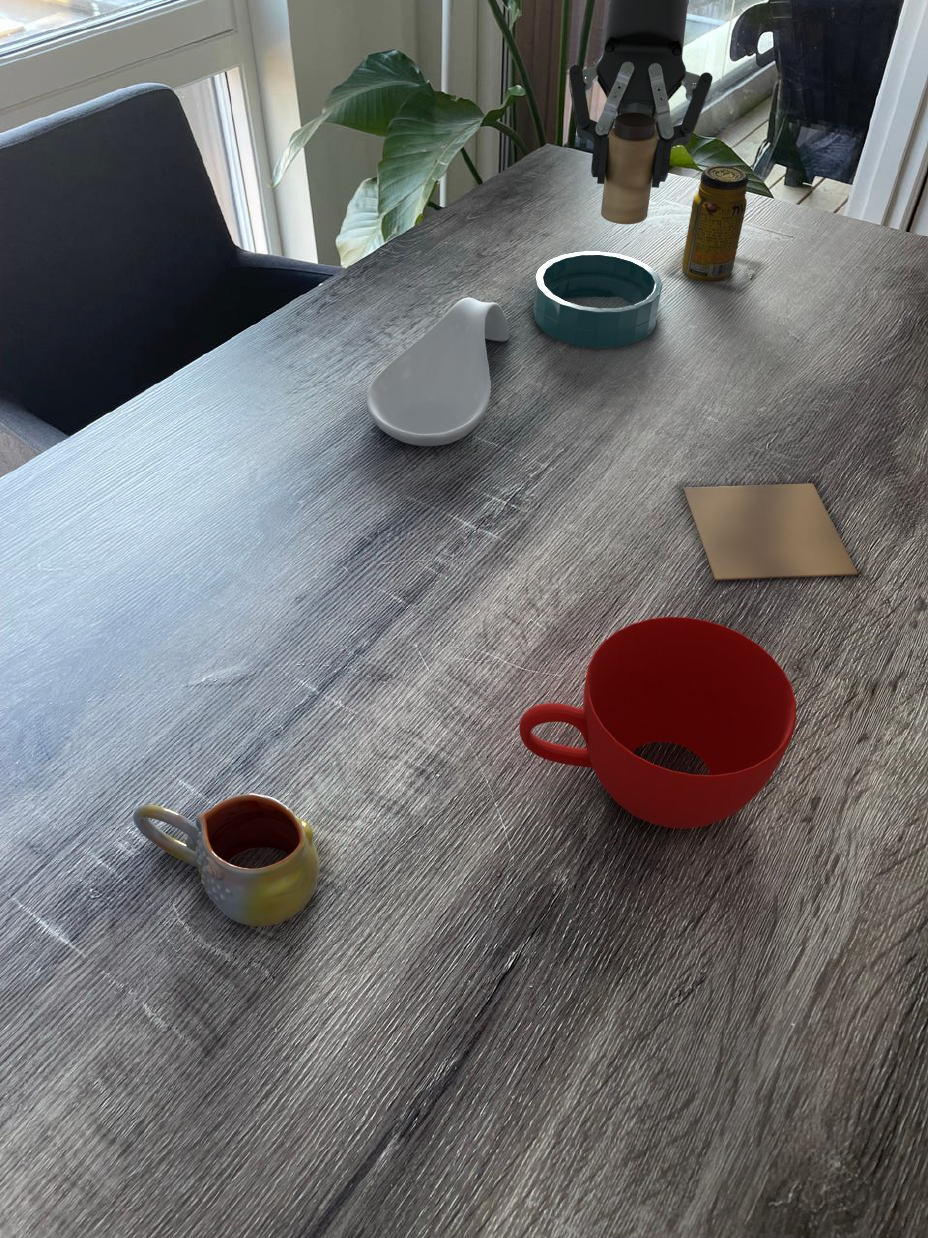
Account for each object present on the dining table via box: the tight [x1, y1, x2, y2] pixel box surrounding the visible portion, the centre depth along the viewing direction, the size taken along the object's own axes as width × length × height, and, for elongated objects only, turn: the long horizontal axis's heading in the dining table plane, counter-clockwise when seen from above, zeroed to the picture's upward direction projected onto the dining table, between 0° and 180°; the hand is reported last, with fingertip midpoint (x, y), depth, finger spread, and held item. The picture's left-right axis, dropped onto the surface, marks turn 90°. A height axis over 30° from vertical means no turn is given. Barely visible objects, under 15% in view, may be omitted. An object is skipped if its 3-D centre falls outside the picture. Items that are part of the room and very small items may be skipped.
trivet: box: [682, 483, 859, 581], centre depth 86 cm, size 12×12×1 cm
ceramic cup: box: [518, 616, 797, 830], centre depth 65 cm, size 13×17×10 cm
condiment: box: [681, 164, 756, 283], centre depth 115 cm, size 7×8×12 cm
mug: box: [132, 791, 321, 928], centre depth 61 cm, size 12×7×7 cm, turn 69°
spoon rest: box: [364, 297, 510, 447], centre depth 99 cm, size 24×12×7 cm, turn 160°
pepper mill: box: [600, 112, 658, 225], centre depth 97 cm, size 5×5×9 cm
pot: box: [532, 251, 663, 349], centre depth 110 cm, size 14×14×5 cm
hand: (628, 181), depth 96 cm, fingers closed on pepper mill, 4 cm apart
